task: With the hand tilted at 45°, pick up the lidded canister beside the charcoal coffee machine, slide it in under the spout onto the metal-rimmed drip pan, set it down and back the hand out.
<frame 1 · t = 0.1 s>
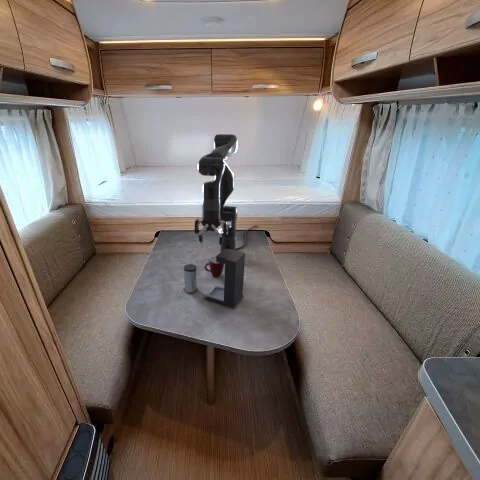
hand: (210, 243, 117), 29 cm above the table, tool pointing down, fingers open, 8 cm apart
coffee maker: (224, 297, 129), on the table
mug: (214, 276, 148), on the table
lidded canister: (190, 289, 135), on the table
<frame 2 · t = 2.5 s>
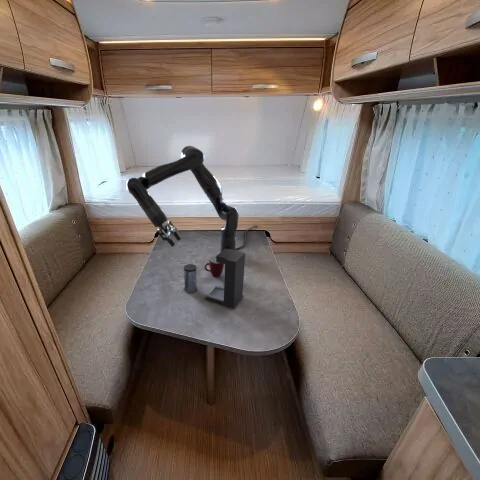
hand: (176, 242, 128), 25 cm above the table, tool tilted 40°, fingers open, 8 cm apart
nothing on the table moved.
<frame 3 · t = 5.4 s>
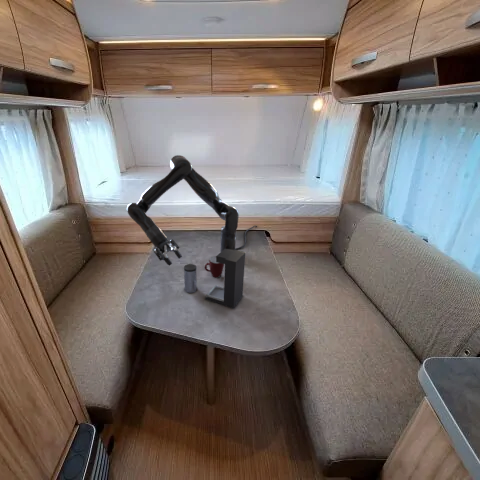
hand: (175, 261, 133), 14 cm above the table, tool tilted 45°, fingers open, 8 cm apart
nothing on the table moved.
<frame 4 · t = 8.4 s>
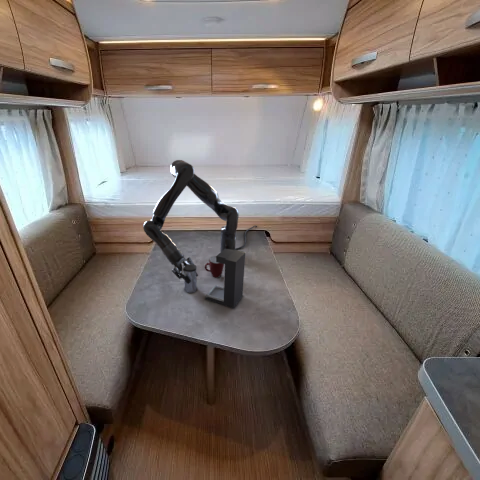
hand: (193, 279, 132), 6 cm above the table, tool tilted 45°, fingers closed on lidded canister, 6 cm apart
lidded canister: (190, 289, 135), on the table, touching gripper
everything else where it was.
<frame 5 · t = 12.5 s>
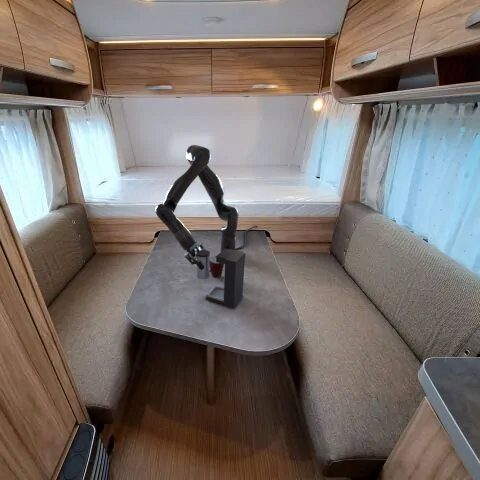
hand: (206, 265, 127), 15 cm above the table, tool tilted 45°, fingers closed on lidded canister, 6 cm apart
lidded canister: (203, 276, 131), point 9 cm above the table, touching gripper
everything else where it was.
when the fingers open (8 cm above the table, at t = 16.9 s): lidded canister stays where it is, resting on coffee maker.
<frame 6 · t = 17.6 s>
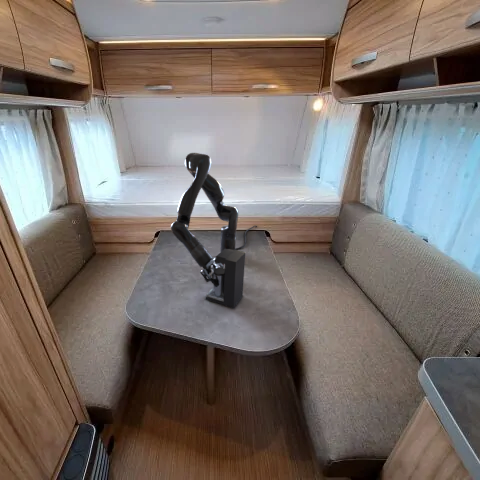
hand: (222, 281, 126), 9 cm above the table, tool tilted 45°, fingers open, 8 cm apart
lidded canister: (219, 293, 129), point 1 cm above the table, touching coffee maker
everything else where it was.
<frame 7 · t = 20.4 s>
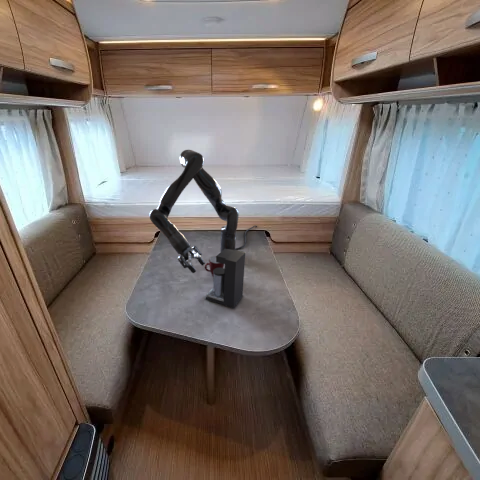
hand: (199, 268, 130), 12 cm above the table, tool tilted 45°, fingers open, 8 cm apart
nothing on the table moved.
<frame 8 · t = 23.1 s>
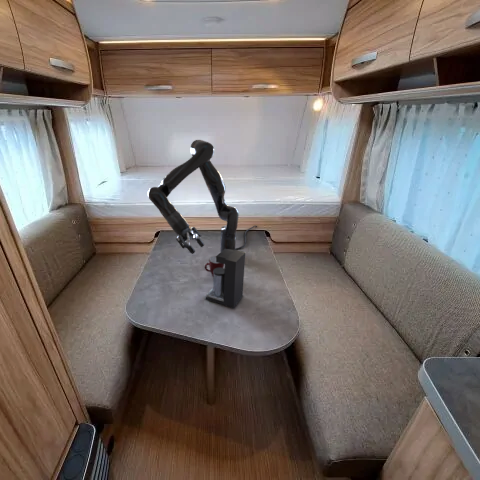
hand: (198, 249, 126), 23 cm above the table, tool tilted 45°, fingers open, 8 cm apart
nothing on the table moved.
at the end: lidded canister 0.1 cm from the target spot, point 1.3 cm above the table; lidded canister tilted 0°; the gripper is holding nothing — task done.
